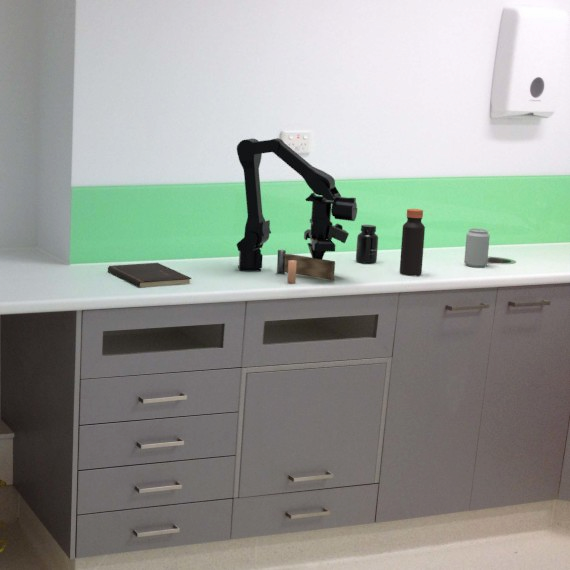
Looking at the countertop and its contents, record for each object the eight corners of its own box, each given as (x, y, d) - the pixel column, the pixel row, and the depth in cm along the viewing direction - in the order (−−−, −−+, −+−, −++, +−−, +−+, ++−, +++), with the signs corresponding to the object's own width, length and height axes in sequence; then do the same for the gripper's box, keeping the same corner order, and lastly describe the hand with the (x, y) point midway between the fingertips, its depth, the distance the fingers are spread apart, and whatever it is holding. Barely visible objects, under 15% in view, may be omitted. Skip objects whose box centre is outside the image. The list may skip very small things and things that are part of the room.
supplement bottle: (375, 264, 344) (377, 228, 341) (354, 263, 345) (356, 226, 343) (377, 261, 350) (380, 224, 348) (357, 259, 352) (359, 223, 349)
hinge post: (277, 273, 322) (278, 251, 321) (276, 272, 325) (277, 249, 323) (285, 274, 323) (286, 251, 321) (284, 272, 325) (285, 249, 324)
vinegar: (408, 270, 337) (413, 207, 332) (425, 274, 332) (430, 210, 328) (395, 273, 332) (399, 209, 328) (412, 277, 327) (416, 212, 323)
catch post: (288, 283, 310) (289, 261, 308) (286, 281, 312) (287, 259, 311) (296, 283, 310) (297, 261, 309) (294, 281, 312) (296, 260, 311)
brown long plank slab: (283, 272, 322) (284, 254, 321) (286, 271, 324) (287, 253, 322) (330, 280, 314) (332, 262, 312) (334, 279, 315) (335, 261, 314)
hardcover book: (157, 270, 323) (157, 262, 322) (191, 285, 304) (191, 277, 303) (107, 273, 314) (107, 265, 314) (139, 289, 295) (139, 281, 295)
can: (461, 266, 348) (464, 229, 346) (466, 262, 355) (469, 226, 353) (484, 268, 346) (487, 232, 343) (489, 265, 353) (492, 229, 350)
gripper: (354, 224, 309) (350, 276, 313) (341, 212, 327) (337, 262, 331) (316, 222, 307) (312, 275, 311) (305, 211, 325) (301, 261, 329)
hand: (317, 268), depth 321 cm, fingers closed
